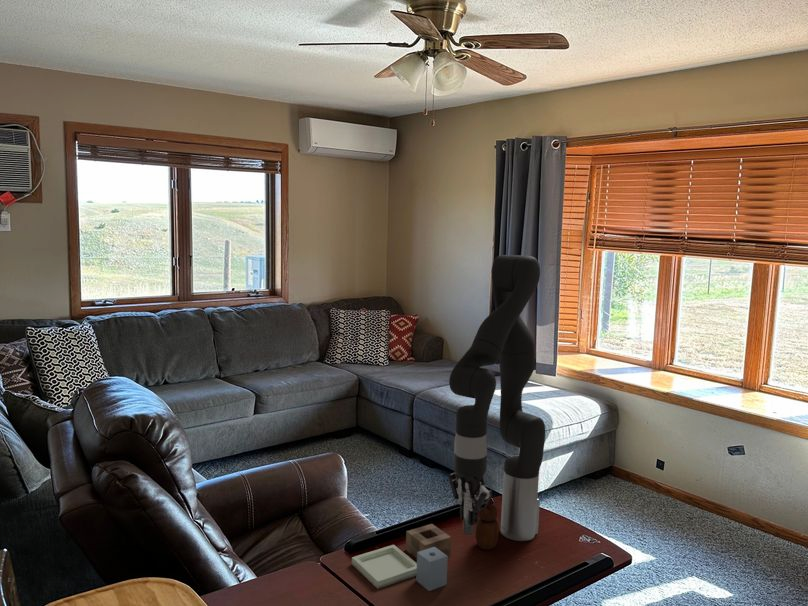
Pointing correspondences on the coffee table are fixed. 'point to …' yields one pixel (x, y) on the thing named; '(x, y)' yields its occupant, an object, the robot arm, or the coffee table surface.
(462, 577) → the coffee table surface
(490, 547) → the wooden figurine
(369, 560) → the tray
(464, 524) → the pin
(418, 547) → the wooden socket block
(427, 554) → the slate block
